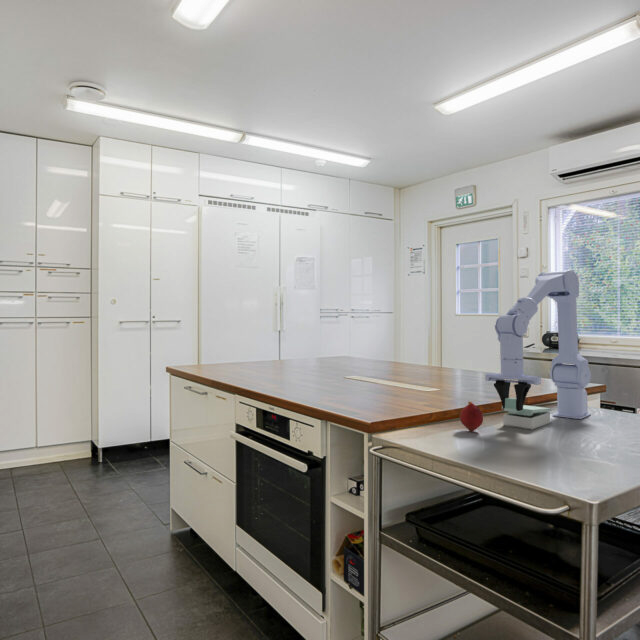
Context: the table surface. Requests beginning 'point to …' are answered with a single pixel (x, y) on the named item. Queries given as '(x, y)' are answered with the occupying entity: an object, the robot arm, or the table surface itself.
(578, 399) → the robot arm
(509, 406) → the lid
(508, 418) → the tub
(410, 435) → the table surface
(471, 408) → the onion
